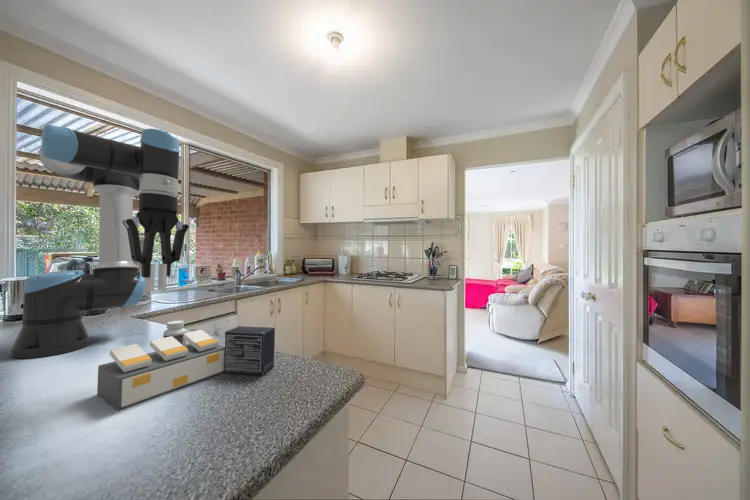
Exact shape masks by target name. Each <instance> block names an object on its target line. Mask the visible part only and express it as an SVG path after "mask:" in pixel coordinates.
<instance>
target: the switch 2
mask: <svg viewBox="0 0 750 500" xmlns="http://www.w3.org/2000/svg"><path fill="white" fill-rule="evenodd" d="M149 347H151V348H152V350H154V352H157V353H158V354H159V355H160V356H161V357H162V358H163V359H164V360H165V361H167V360H171V359H175V358H178V357H182V356H185V355H188V349H187V348H186V347H185V346H183V345H182V344H181V343H179V342H178V341H177V340H176V339H175V338H174V337H173V336H170V337H166V338H163V337H161V338H158V339H152V340H150V341H149Z"/></svg>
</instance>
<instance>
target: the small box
mask: <svg viewBox="0 0 750 500" xmlns="http://www.w3.org/2000/svg"><path fill="white" fill-rule="evenodd" d="M275 330H276V328H275V327H265V326H263V327H262V326H245V325H244V326H240V325H239V326H236V327H234V328H231V329H229V330H226V331H225V332H224V337H225V338H224V341H225V343H224V347H225V362H224V363H225V364H224V372H223V373H224V374H226V375H227V374H229V375H246V376H261V377H262V376H264V375H265V374H266V373H268V372H269V371H270V370H272V368H274V367H275V337H276V336H275V334H276V333H275Z"/></svg>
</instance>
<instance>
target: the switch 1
mask: <svg viewBox="0 0 750 500" xmlns="http://www.w3.org/2000/svg"><path fill="white" fill-rule="evenodd" d="M109 355H110V357H111V358H112V360H114V361H113V362H116V363H117V364H118V366H119V367H120V368H121V369H122V371H123V372H127V371H131V370H135V369H138V368H142V367H146V366H149V365H151V362H152V359H151V358H150V356H149V355H148V353H146V352H145V351H144V350H143V349H142V348H141V347H140V345H139V344H138V343H134V344H129V345H123V346H118V347H115V348H111V349H110V350H109Z"/></svg>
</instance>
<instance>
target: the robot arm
mask: <svg viewBox="0 0 750 500" xmlns="http://www.w3.org/2000/svg"><path fill="white" fill-rule="evenodd" d="M42 127H43V128H42V131H41V132H42V133H41V144H40V145H41V147H40V148H39V150H38V158H39V160H40V161H39V162H41V164H42V165H43V166H44V167H45V168H46V169H48V170H49V171H51V172H53V173H55V174H57V175H60V176H62V177H64V178H67V179H71V180H74V181H78V182H84V183H91V184H92V185H93V187H92V189H93V190H94V191H95V192H96V193H97V194H98V195H99V206H98V207H99V212H98V213H99V214H98V215H99V217H98V219H99V220H98V223H99V225H98V229H99V231H98V234H99V235H98V241H99V242H98V264H97V265H95V266H94V267H93V268H92V269H91V270H92V273H90V274H89V273H85V272H84V270H83V269H72V270H71V269H70V270H61V271H53V272H52V271H51V272H50V271H49V272H43V273H38V274H33V275H30V276H28V277H27V278H26V279H25V281H24V286H23V291H22V295H23V306H22V307H23V308H22V327H21V328H20V331H19V332H18V335H17V337H16V338H15V341H14V342H13V344H12V346H11V348H10V349H11V350H10V357H11V358H13V359H14V358H15V359H34V358H41V357H42V358H43V357H50V356H55V355H60V354H65V353H70V352H74V351H78V350H81V349H82V348H85V347H87V346H88V345H89V343H90V336H89V334H88V332H87V329H86V328H85V325H84V323H83V312H87V311H97V310H106V309H117V308H120V309H122V308H125V307H132V306H136V305H138V303H140V302H141V300H142V298H143V296H144V293H145V291H146V292H149V293H150V292H155V281H156V280H155V279H156V263H155V264H154V263H152V262H153V261H152V260H153V255H154V253H153V252H154V247H155V239H156V236H157V233H158V236H159V238H160V251H161V252H160V253H161V263H158V266H157V290H158V291H163V292H164V291H167V278H168V277H171V274H172V269H171V268H172V264H173V263H175V262H179V261H180V260H181V255H182V251H183V246H184V240H185V235H186V232H187V231H188V229H189V228H190V226H189V224H188V223H186V224H184V222H181V221H180V219H179V217H178V200H179V199H178V198H177V196H178V194H179V169H180V167H179V166H180V162H179V161H180V153H181V151H180V139H179V138H178V137H177V136H176V135H175V134H173V133H171V132H169V131H165V130H164V129H163V130H162V129H158V128H145V129H142V131H141V136H140V139H139V141H140V146H138V145H133V144H130V143H125V142H122V141H117V140H113V139H110V138H104V137H101V136H97V135H94V134H90V133H86V132H81V131H78V130H74V129H71V128H68V127H61V126H57V125H53V124H45V125H44V126H42ZM139 192H140V194H139ZM138 194H139V196H138V212H137V213H136V215H135V216H134V214H133V213H134V212H133V211H134V208H133V207H134V205H133V204H134V203H133V201H134V199H133V198H135V196H137V195H138ZM139 224H140V225H141V226H142V227H143V229H144V232H143V235H144V237H143V243H142V246H141V241H140V234H139V229H138V226H139ZM174 228H175V230H176V231H175V233H174V237H173V243H171V237H172V230H173V229H174ZM134 262H137V263H140V264H141V271H139V270H140V269H139V266H138V265H137V264H136V263H134Z"/></svg>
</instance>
